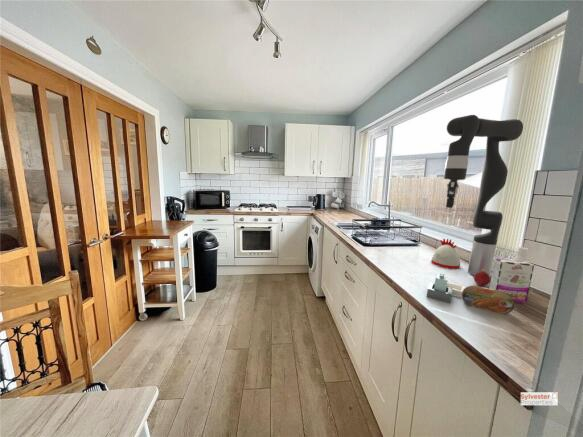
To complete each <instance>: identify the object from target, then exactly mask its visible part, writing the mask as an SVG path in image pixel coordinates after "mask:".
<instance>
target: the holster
mask: <svg viewBox="0 0 583 437" xmlns="http://www.w3.org/2000/svg"><path fill="white" fill-rule="evenodd" d="M447 286H448V287H452V296H454V297H457V298H461V299H463V298H462V292H463V290H464V289H465V286H464V285H461V284H457V283H452V282H450V281H449V282H448V281H447Z"/></svg>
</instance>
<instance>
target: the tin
mask: <svg viewBox="0 0 583 437" xmlns="http://www.w3.org/2000/svg"><path fill="white" fill-rule="evenodd" d="M461 299H462V300H463V302H464V304H465V305H466V306H468V307H473V308H478V309H481V310H485V311H489V312H494V313H498V314H502V315H507V314H510V313H511V312H512V311H513V310H514V309H515V302H514V301H513V299H512V298H511V297H510V296H509V295H508V294H507V293H505V292H503V291H500V290H495V289H490V287H489V288H488V287H484V286H479V285H468V286H466V287H464V290H463V292H462V298H461Z"/></svg>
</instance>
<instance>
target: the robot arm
mask: <svg viewBox="0 0 583 437" xmlns="http://www.w3.org/2000/svg"><path fill="white" fill-rule="evenodd" d="M523 130H524V123H523V121H521V120H520V119H518V118H517V119H515V118H513V119H505V120H494V119H487V118H481V117H480V118H479V117H478V116H477V115H475V114H469V115H463V116H459V117H455V118H453V119H451V120H449V121H448V123H447V125H446V132H447V134H448V135H450V136H451V137H460V138H459V139H457V140H454V141H452V142H450V144H449V145H448V153H447V158H446V160H445V167H444V171H443V172H444V173H443V179H444V180H450V181H449V182H448V183H447V185H446V198H447V200H446V205H445V206H446V208H447V209H448V208H449V209H452V208H453V207H454V204H455V198H456V195H457V194H458V190H459V187H460V183H459V184H458V181H459V180H461V181H464V180H465V179H466V177H467V171H468V166H469V156H470V155H469V153H470V148H471V145H472V142H473V141H474V138H475V137H478V138H485V137H486V146H485V156H484V157H485V158H484V164H483V169H482V173H481V179H480V186H479V191H478V193H479V194H478V198H477V203H476V207H475V211H474V213H473V214H474V215H473V221H472V225H473V227H474V228H476V229H482V230H489V232H485V233H481V234H476V235H474V236H473V239H472V240H473V241H472V246H471V250H470V251H471V252H470V256H469V262H468V267H467V273H468V274H470V275H472V276H474V275H475V274H476V273H478V272H481V271H482V270H485V272H486V273H487V274H488V275H489V277H490V278H491V275H492V271H493V266H494V260H495V254H496V248H497V243H498V236H499V233H500V229H501V225H502V223H503V222H502V221H503V213H502V212H501V211H496V210H495V211H494V210H493V211H492V210H484V209H485V207H486V206H487V204H488V203H489V201H490V200H491V199H492V198H494V197H495V196H496V195H497V194H498V193H499V192H500V191H501V190H502V189H503V188H504V187H505V185H506V183H507V177H508V172H509V171H508V170H509V169H508V168H507V165H506V163H505V162H504V159H503V158H502V156H501V153H500V150H499V149H500V142H511V141H514V140H517V139H519V138H520V137H521V136H522V133H523Z"/></svg>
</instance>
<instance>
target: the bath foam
mask: <svg viewBox="0 0 583 437" xmlns="http://www.w3.org/2000/svg"><path fill="white" fill-rule="evenodd" d="M528 254H529V248H527V247H523V246H520V247H518V251H517V255H516V256H514V257H513V258H512V259H511V260H520V261H527V262H529V263H531V262H530V260H529V258H528Z"/></svg>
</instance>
